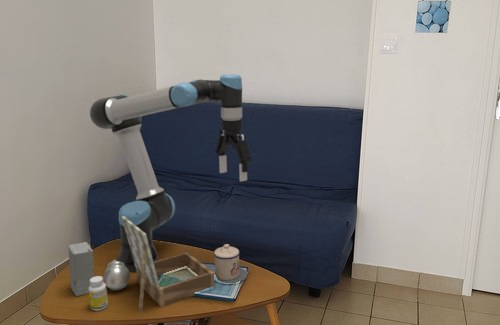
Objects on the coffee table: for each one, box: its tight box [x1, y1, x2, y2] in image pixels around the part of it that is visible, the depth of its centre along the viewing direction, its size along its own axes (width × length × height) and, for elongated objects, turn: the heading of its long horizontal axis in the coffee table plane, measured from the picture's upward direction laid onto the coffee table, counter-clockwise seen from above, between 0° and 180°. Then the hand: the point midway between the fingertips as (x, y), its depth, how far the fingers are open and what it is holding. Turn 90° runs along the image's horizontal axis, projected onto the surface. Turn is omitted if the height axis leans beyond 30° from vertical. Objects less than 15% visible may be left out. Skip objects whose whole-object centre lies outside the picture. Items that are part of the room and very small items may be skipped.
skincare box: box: [67, 241, 95, 297], centre depth 158 cm, size 8×7×16 cm
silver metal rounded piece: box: [103, 259, 131, 291], centre depth 159 cm, size 9×10×10 cm
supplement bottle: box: [88, 275, 109, 311], centre depth 148 cm, size 5×5×10 cm
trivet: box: [217, 266, 248, 283], centre depth 167 cm, size 12×12×1 cm
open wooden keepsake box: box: [122, 216, 215, 312], centre depth 157 cm, size 20×27×26 cm
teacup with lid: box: [213, 243, 240, 280], centre depth 166 cm, size 12×9×12 cm
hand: (232, 176), depth 169 cm, fingers open, 13 cm apart
